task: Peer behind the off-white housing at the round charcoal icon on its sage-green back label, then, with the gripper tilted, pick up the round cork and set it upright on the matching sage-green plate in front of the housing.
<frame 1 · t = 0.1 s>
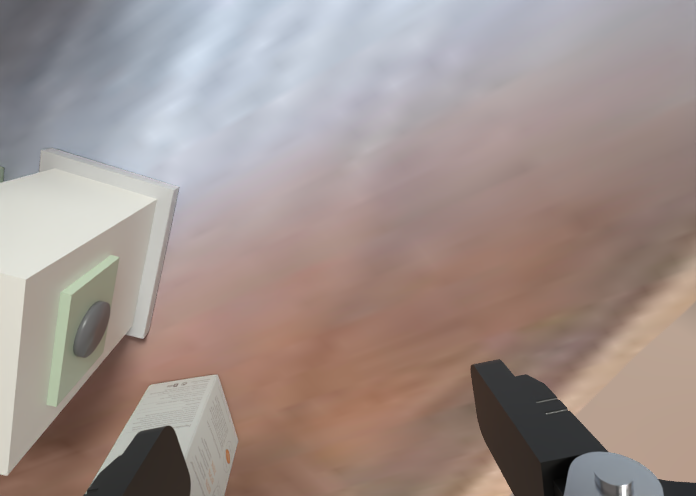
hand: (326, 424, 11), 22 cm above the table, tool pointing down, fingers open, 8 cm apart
small box: (196, 411, 38), on the table
housing: (104, 247, 32), on the table
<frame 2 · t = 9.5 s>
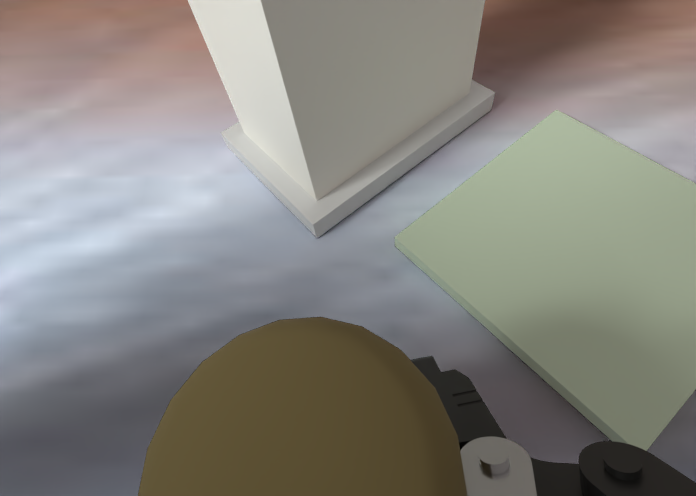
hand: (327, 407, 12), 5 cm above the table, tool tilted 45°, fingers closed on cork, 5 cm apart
cork: (355, 487, 15), on the table, touching gripper
housing: (357, 129, 24), on the table
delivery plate: (582, 250, 19), on the table
when the fingers open (7 cm above the table, at t = 14.7 s): cork drops 1 cm, resting on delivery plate.
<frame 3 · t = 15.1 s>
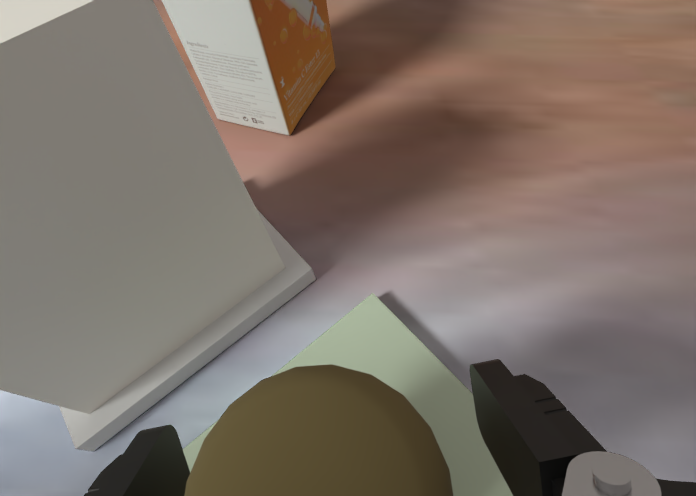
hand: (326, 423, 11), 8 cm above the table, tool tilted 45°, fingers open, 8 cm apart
small box: (280, 95, 31), on the table
housing: (174, 297, 23), on the table
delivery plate: (361, 489, 17), on the table
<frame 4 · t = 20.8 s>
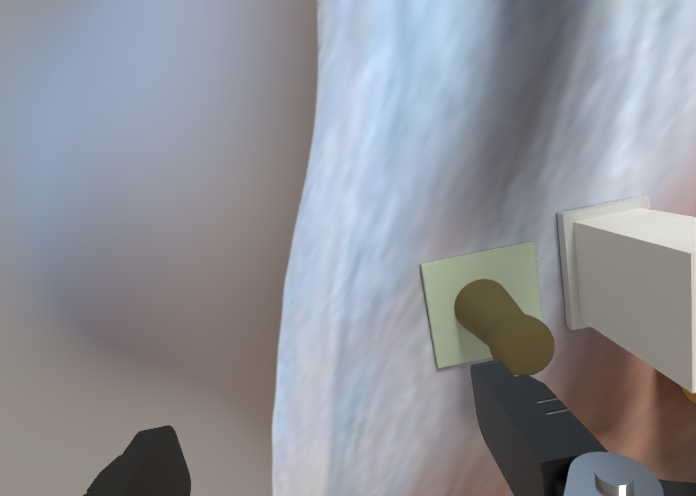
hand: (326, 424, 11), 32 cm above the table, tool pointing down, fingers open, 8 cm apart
cork: (481, 305, 44), point 1 cm above the table, touching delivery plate
housing: (602, 262, 44), on the table
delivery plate: (482, 304, 45), on the table
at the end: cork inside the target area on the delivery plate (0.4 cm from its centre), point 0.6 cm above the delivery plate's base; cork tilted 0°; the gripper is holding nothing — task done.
